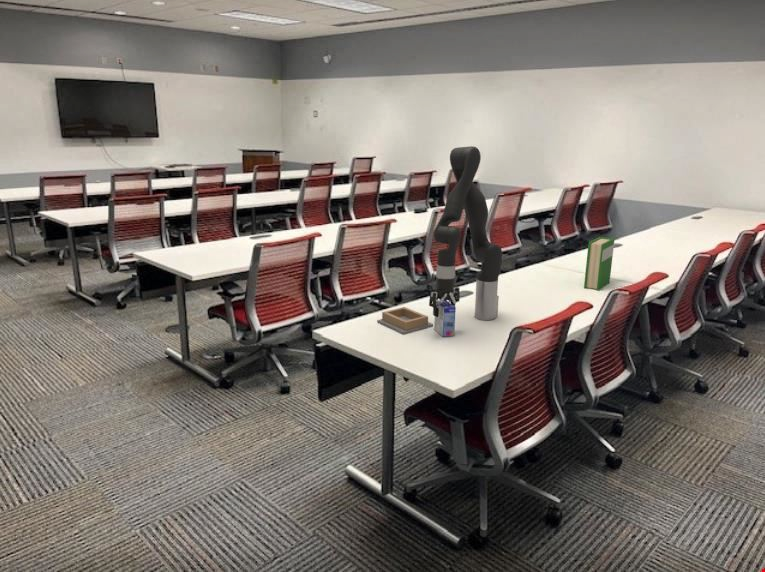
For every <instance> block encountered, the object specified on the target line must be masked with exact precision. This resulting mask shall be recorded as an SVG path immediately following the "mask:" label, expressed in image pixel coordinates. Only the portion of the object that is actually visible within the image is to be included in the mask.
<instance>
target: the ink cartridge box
mask: <svg viewBox="0 0 765 572" xmlns="http://www.w3.org/2000/svg"><path fill="white" fill-rule="evenodd" d="M450 301H451V299H449V300H446V301H443V302H442V304H440V306H439V307H438V308H439V316H438V317H435V316H434V323H433V328H434V329H433V330H435V331H436V332H437V333H438V334H439V335H440V336H441V337H443V338H444V337H455V330H456V329H455V328H456V325H455V324H456V309H457V307H456V306H455V307H454V306H453V305H452V304H450ZM436 305H437V304H436Z"/></svg>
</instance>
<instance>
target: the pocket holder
mask: <svg viewBox="0 0 765 572" xmlns="http://www.w3.org/2000/svg"><path fill="white" fill-rule="evenodd" d="M377 322H378V323H377ZM376 323H377V324H379V323H380V325H381V326H384V327H385V328H389V329H390V330H392V331H394V330H395V331H394V332H397V333H398V334H401V335H408V334H411V333H415V332H419V331H422V330H425V328H426V329H428V327H429V328H432V327H431V326H433V327H434V323H431V322H429V316H428V315H426V314H424V313H421V312H419V311H416V310H413V309H411V308H408V307H406V306H402V307H397V308H394V309H390V310H389V309H388V310H386V311H382V313H381V318H380V319H377V321H376ZM414 331H415V332H414Z"/></svg>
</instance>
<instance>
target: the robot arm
mask: <svg viewBox="0 0 765 572" xmlns="http://www.w3.org/2000/svg"><path fill="white" fill-rule="evenodd" d="M449 154H450V155H449V163H450V167H451V170H452V173H453V175H454V178H455V181H456V185H454V187H453V188H452V190H451V191H450V192H449V194H448V196H447V198H446V201H445V206H444V209H443V213H442V215H441V217H440V219H439V221H438V222H437V224H436V226H435V228H434V230H433V239H434V241H435V242H436V243H438V244H445V245H448V247H447V248H441V249H439V250H438V251H437V256H436V257H437V258H436V259H437V262H436V263H437V264H436V269H435V271H436V273H435V288H436V291H430V292H429V302H428V303H429V304H428V306H429V307H432V308H433V309H432V315H433V316H434V318H435V317H438V316H439V308H438V307H439V306H440V304H442V302H443V301H446V300H447V301H449V299H451V301H450V304H452V305H453V306H454V307H456V304H457V303H460V298H461V297H460V296H461V295H460V287H458V286H456V285H455V284H456V255H457V251H458V247H459V244H460V242H461V238H462V231H461V229H460V227H457V226H454V225H450V224H452V223H455V222H459V221H460V220H461V218H462V215H463V211H464V212H465V216H466V220H467V225H468V229H469V232H470V237H471V243H472V244H471V245H472V251H473V255H474V258H475V260H476V261H478V262H480V263H483V266H482V268H483V269H482V270H479V271H477V272H476V277H475V278H476V282H475V298H474V299H475V302H474V303H475V304H474V318H476V319H478V320H482V321H491V320H492V321H493V320H495V319H496V318H497V317H498V312H499V297H500V296H499V295H498V286H499V276H500V274H501V270H502V261H503V250H502V248H501V246H500V245H499V244H497V243H495V242H494V243H493V242H490V241H489V238H488V235H487V230H486V226H487V222H488V218H489V209H488V205H487V201H486V198H485V197H486V196H485V195H484V194H483V192H482V191H481V189H479V187H478V186H477V185H476V184H475V183H474V179H475V177H476V174H477V172H478V169H479V167H480V164H481V157H482V156H481V152H480V150H479V148H478V147H476V146H472V145H471V146H459V147H454V148H453V149H452V150H451V151H450V153H449ZM436 304H437V305H436Z"/></svg>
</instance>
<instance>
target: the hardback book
mask: <svg viewBox="0 0 765 572" xmlns="http://www.w3.org/2000/svg"><path fill="white" fill-rule="evenodd" d="M615 240H616V239H615V238H613V237H606V236H599V237H596V238H595V239H592V240H591V241H589V242H588V244H587V245H588V246H587V254H586V265H585V275H584V284H583V289H587V288H589V289H595V290H596V291H597V292H599V291H600V290H602V289H603V288H605V287H606V286H608V285H609V284H610V282H611V272H612V266H613V256H614V248H615V247H614V246H615Z"/></svg>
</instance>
